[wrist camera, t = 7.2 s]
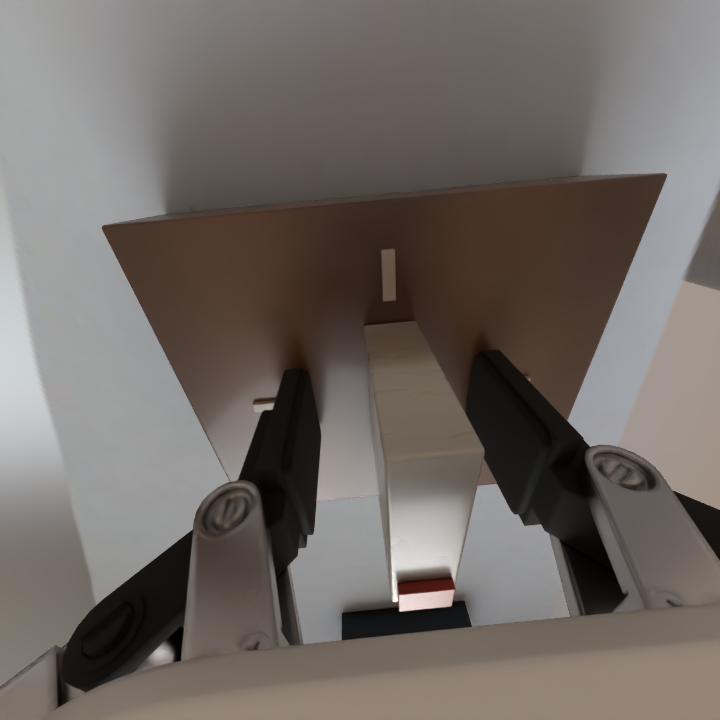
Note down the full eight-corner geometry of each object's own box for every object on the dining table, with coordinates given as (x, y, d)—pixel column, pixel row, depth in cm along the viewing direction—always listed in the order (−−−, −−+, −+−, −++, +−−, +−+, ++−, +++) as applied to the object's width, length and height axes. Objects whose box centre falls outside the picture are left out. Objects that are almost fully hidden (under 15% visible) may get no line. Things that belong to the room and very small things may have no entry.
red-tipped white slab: (363, 324, 9) (387, 473, 4) (415, 319, 9) (494, 463, 4) (373, 449, 12) (392, 615, 7) (412, 445, 12) (457, 609, 7)
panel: (582, 175, 10) (676, 172, 7) (511, 432, 16) (546, 483, 13) (164, 214, 10) (94, 227, 7) (258, 456, 16) (242, 512, 13)
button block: (464, 600, 28) (481, 658, 25) (454, 635, 33) (467, 687, 30) (341, 613, 28) (341, 673, 25) (351, 646, 33) (352, 699, 30)
